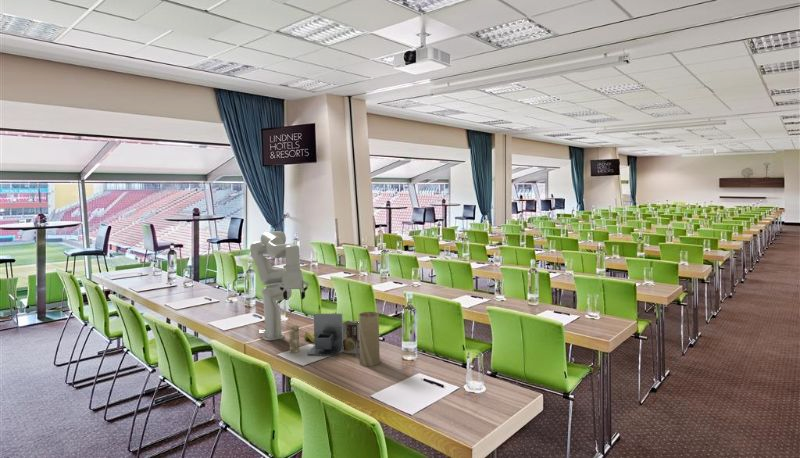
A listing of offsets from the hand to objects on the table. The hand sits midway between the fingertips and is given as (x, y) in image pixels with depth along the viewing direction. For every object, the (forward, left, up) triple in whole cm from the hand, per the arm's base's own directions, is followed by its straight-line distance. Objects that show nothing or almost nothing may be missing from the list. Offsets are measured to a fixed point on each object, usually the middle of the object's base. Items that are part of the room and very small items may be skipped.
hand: (294, 298), depth 261 cm
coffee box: (+32, +1, -29) cm, 43 cm away
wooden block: (0, -1, -29) cm, 29 cm away
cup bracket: (+17, +1, -29) cm, 33 cm away
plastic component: (+9, +23, -30) cm, 38 cm away
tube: (+44, -15, -29) cm, 55 cm away
